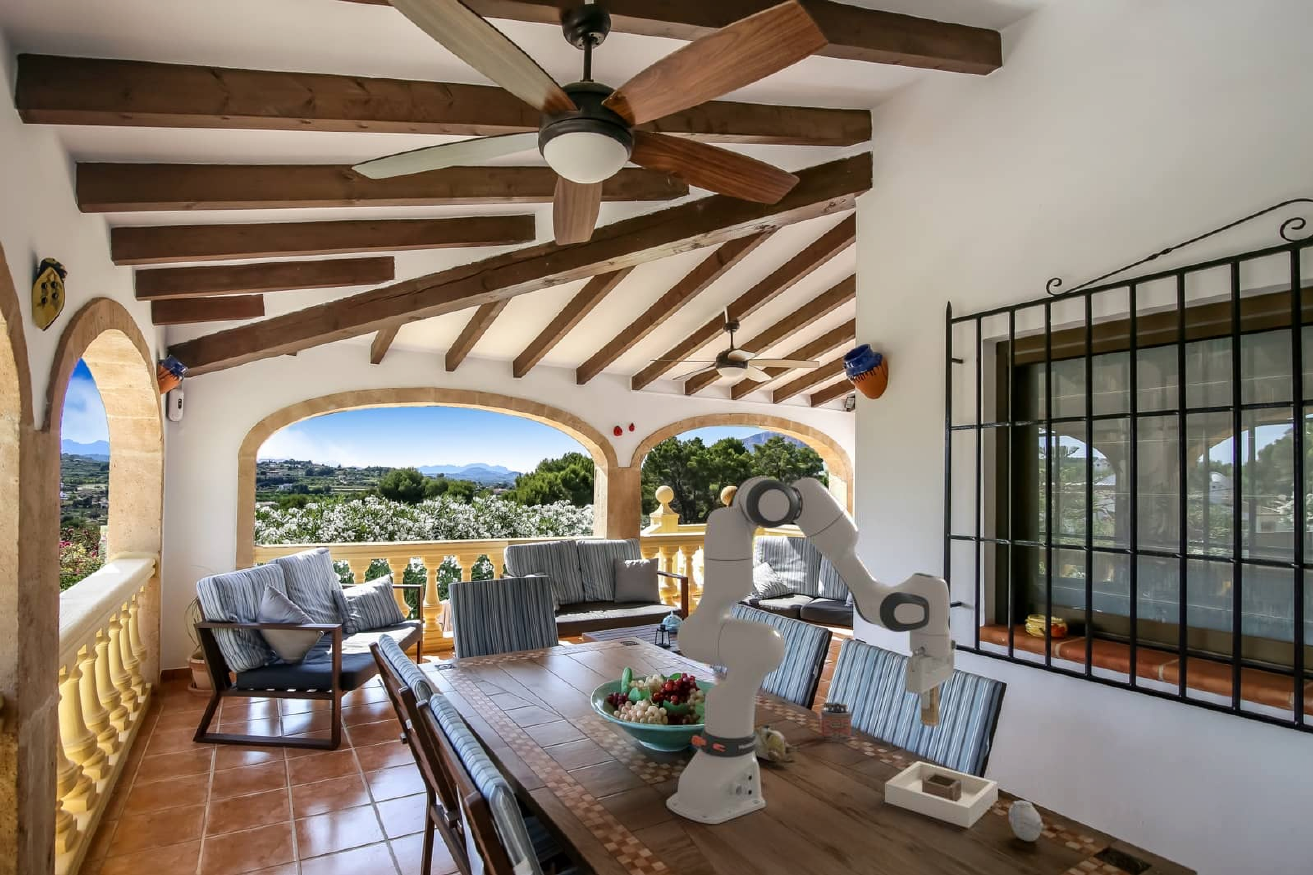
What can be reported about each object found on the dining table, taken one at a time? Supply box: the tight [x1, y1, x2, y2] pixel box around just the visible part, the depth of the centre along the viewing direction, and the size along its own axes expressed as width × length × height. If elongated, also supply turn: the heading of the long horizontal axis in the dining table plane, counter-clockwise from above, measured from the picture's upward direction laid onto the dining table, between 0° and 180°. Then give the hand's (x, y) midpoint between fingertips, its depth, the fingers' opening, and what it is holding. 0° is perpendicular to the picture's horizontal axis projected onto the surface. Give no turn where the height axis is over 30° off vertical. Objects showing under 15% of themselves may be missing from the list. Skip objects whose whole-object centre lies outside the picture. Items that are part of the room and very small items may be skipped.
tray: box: [884, 760, 999, 829], centre depth 165 cm, size 18×18×4 cm
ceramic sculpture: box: [754, 724, 801, 765], centre depth 189 cm, size 11×9×15 cm
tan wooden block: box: [920, 685, 940, 728], centre depth 171 cm, size 3×3×10 cm
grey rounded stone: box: [1008, 800, 1044, 842], centre depth 148 cm, size 6×7×7 cm
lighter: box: [820, 701, 852, 743], centre depth 203 cm, size 8×3×10 cm, turn 84°
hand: (929, 705), depth 171 cm, fingers closed on tan wooden block, 3 cm apart
